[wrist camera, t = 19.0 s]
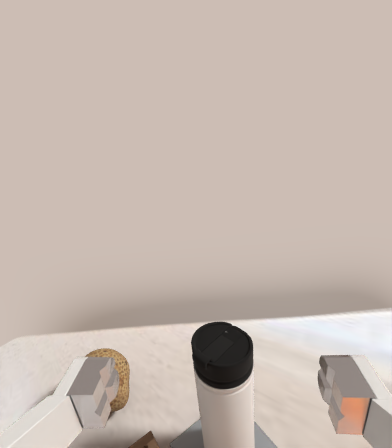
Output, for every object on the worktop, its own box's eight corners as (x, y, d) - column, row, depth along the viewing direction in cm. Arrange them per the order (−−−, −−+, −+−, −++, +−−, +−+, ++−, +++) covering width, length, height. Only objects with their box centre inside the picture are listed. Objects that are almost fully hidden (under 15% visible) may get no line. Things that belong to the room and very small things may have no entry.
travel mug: (193, 460, 33) (174, 342, 25) (225, 418, 37) (217, 307, 30) (233, 506, 28) (224, 381, 21) (264, 453, 33) (265, 333, 25)
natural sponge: (92, 377, 46) (77, 335, 43) (140, 374, 46) (130, 331, 42) (69, 434, 38) (48, 387, 34) (128, 430, 37) (114, 383, 34)
